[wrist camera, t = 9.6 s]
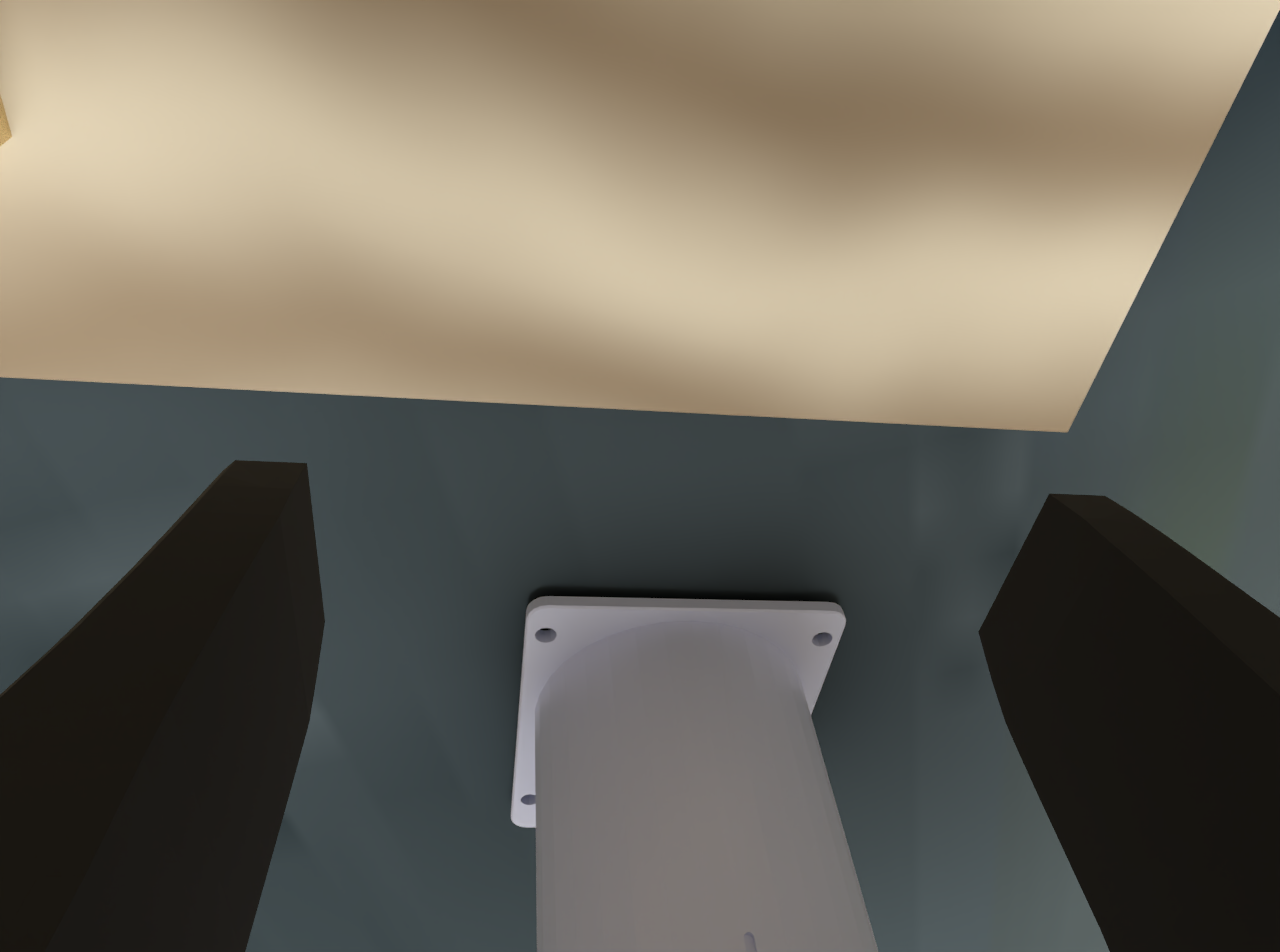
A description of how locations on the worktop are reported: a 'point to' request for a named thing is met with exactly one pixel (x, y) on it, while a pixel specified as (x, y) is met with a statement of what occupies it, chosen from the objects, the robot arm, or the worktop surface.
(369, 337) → the keeper board
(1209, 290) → the worktop surface
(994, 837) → the worktop surface
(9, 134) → the brass link
